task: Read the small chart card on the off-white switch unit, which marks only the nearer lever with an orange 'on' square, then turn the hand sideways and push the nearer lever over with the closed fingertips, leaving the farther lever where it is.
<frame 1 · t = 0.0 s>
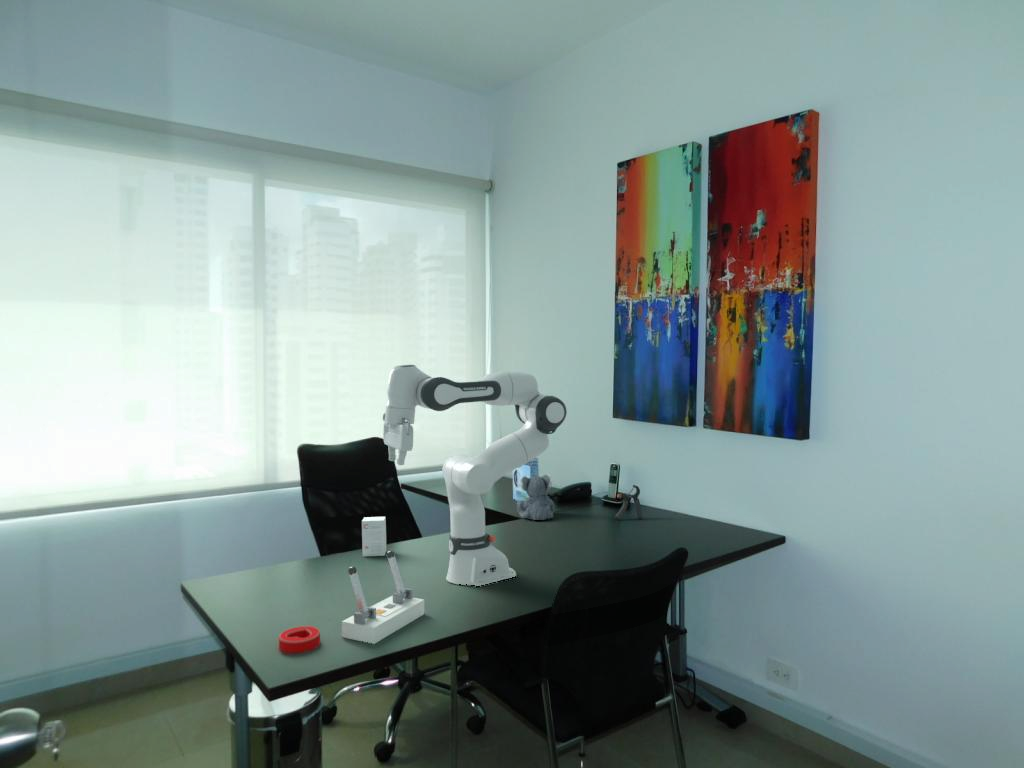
hand: (396, 462, 204), 39 cm above the table, tool pointing down, fingers open, 8 cm apart
small box: (374, 554, 244), on the table
lever 1: (358, 592, 170), point 11 cm above the table, hinge at -20.0°
lever 2: (396, 574, 184), point 11 cm above the table, hinge at -20.0°
switch unit: (385, 625, 177), on the table
decorative ornament: (299, 646, 164), on the table
hand grip strengthener: (628, 519, 294), on the table
light blue product box: (525, 502, 334), on the table
koala plush: (537, 518, 300), on the table
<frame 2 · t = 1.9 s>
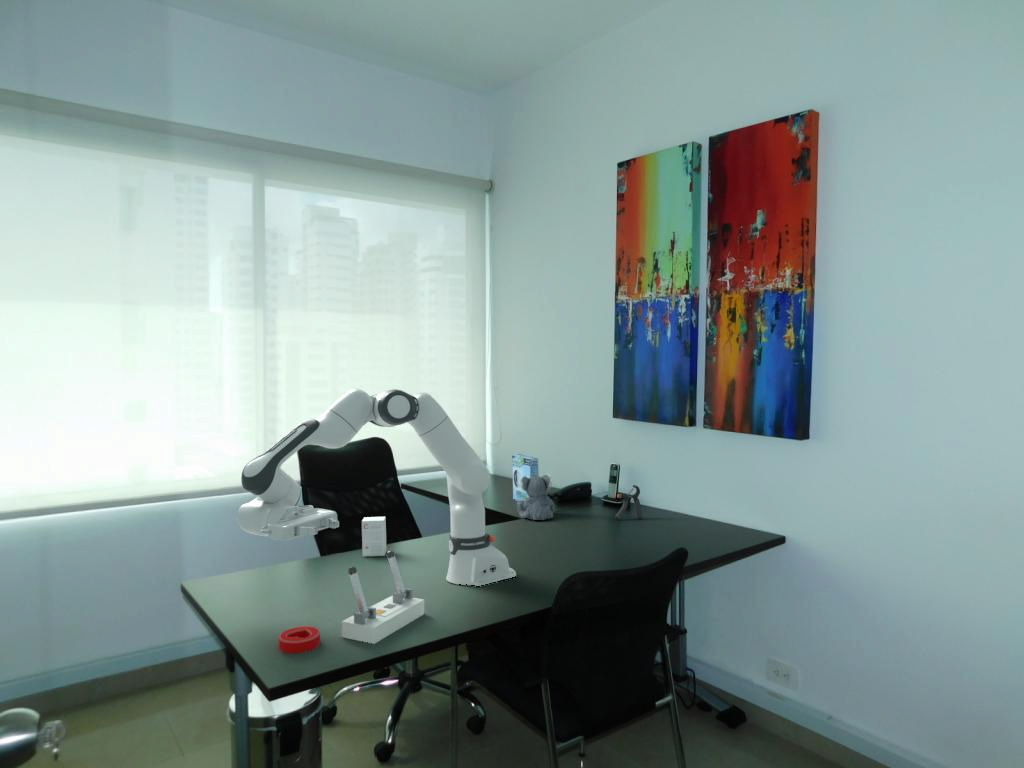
hand: (326, 528, 174), 26 cm above the table, tool horizontal, fingers open, 7 cm apart
nothing on the table moved.
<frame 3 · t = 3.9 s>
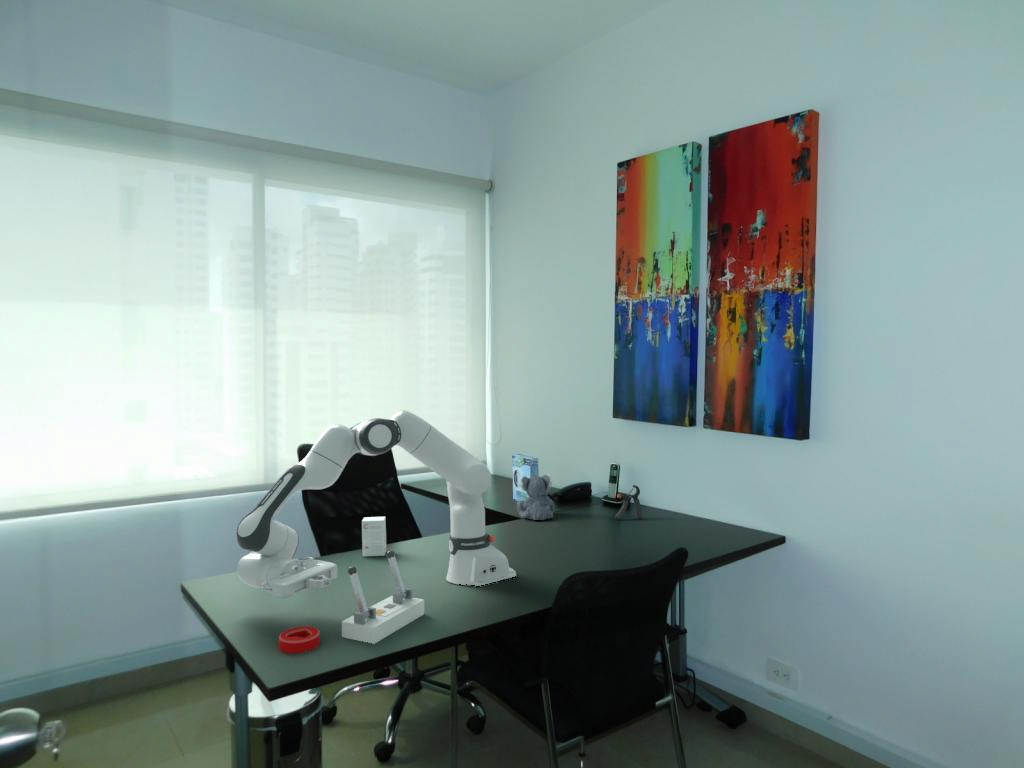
hand: (327, 583, 175), 12 cm above the table, tool horizontal, fingers closed
nothing on the table moved.
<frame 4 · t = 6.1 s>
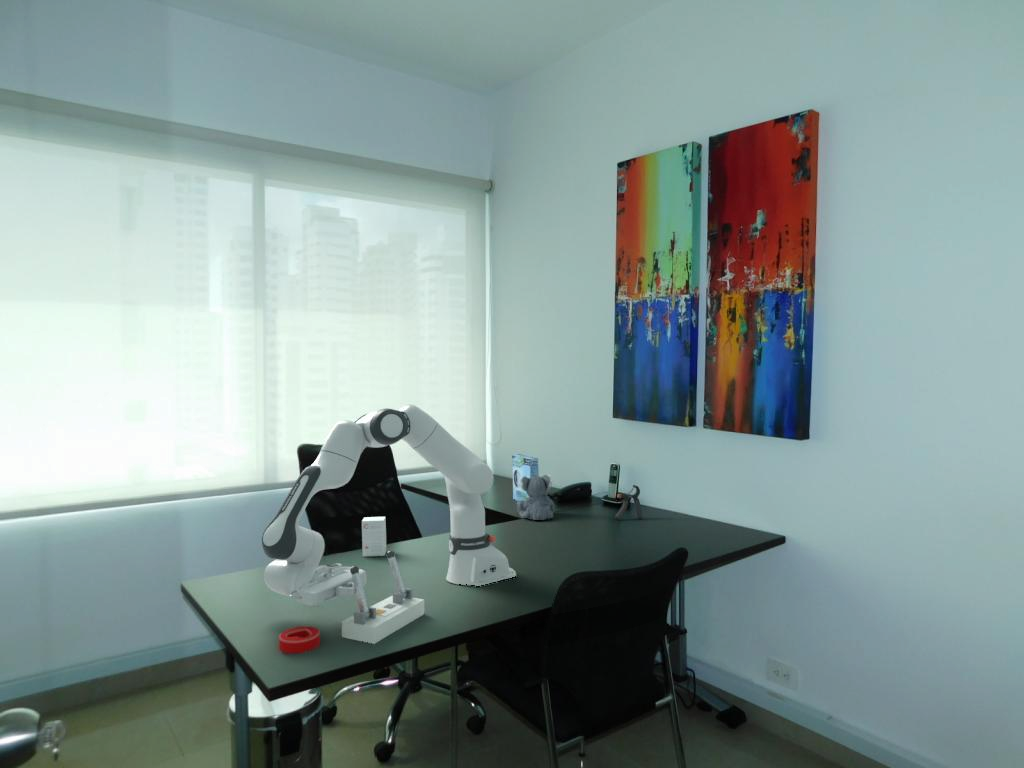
hand: (356, 591, 170), 11 cm above the table, tool horizontal, fingers closed, pressing on lever 1
lever 1: (359, 592, 170), point 11 cm above the table, hinge at -16.1°, touching gripper
everything else where it was.
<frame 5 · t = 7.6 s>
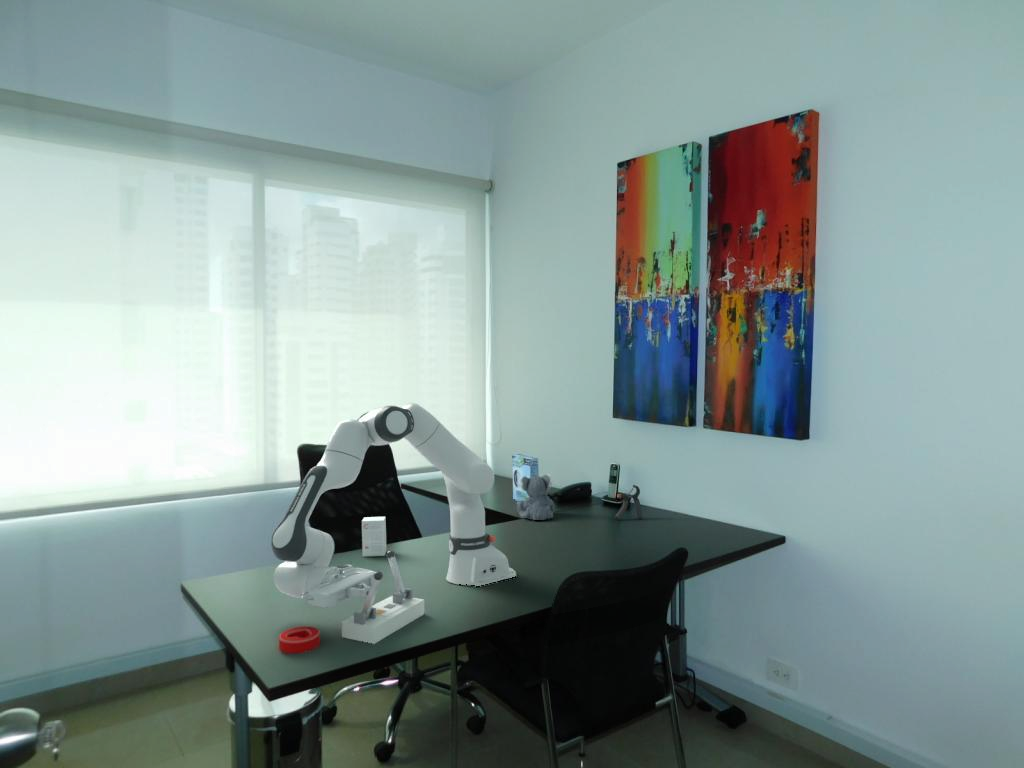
hand: (369, 592, 169), 11 cm above the table, tool horizontal, fingers closed, pressing on lever 1
lever 1: (371, 595, 168), point 11 cm above the table, hinge at 22.6°, touching gripper
everything else where it was.
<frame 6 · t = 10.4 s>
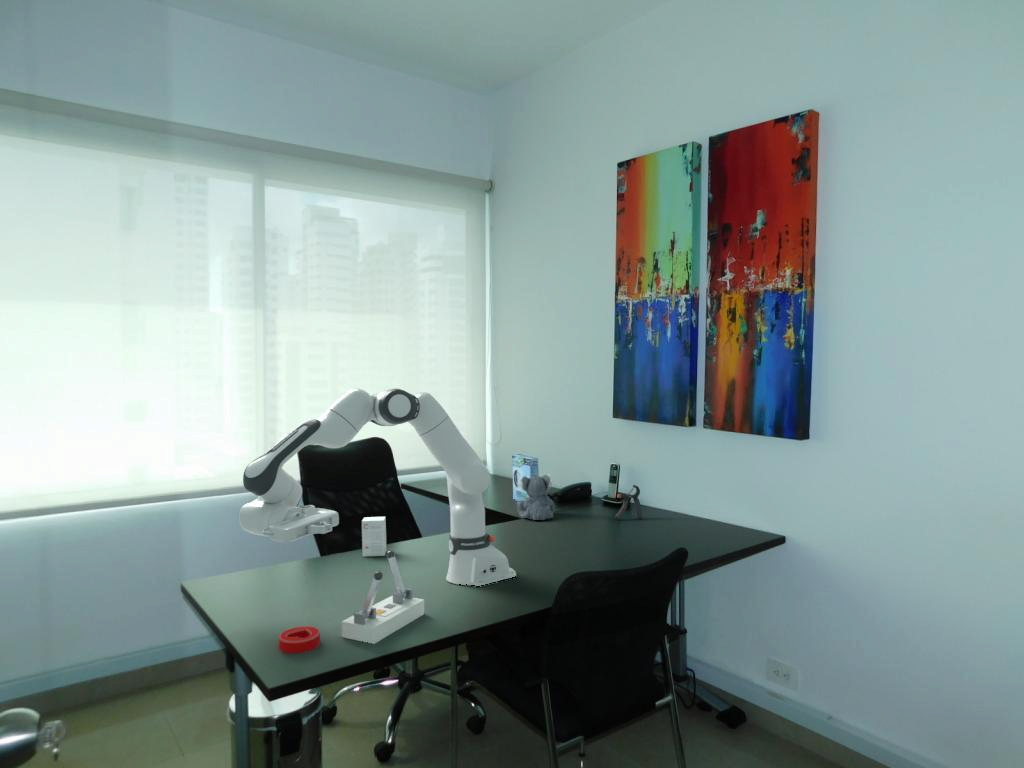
hand: (328, 529, 174), 26 cm above the table, tool horizontal, fingers closed
lever 1: (371, 595, 168), point 11 cm above the table, hinge at 22.6°
everything else where it was.
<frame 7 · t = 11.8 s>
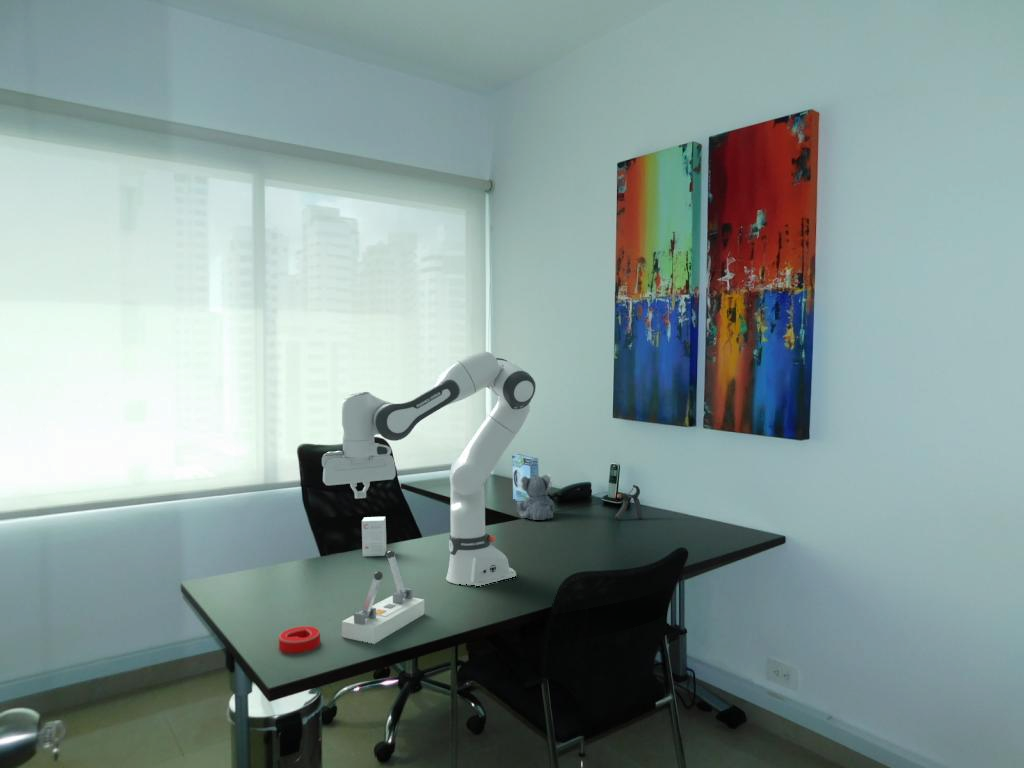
hand: (360, 497, 191), 31 cm above the table, tool pointing down, fingers closed
nothing on the table moved.
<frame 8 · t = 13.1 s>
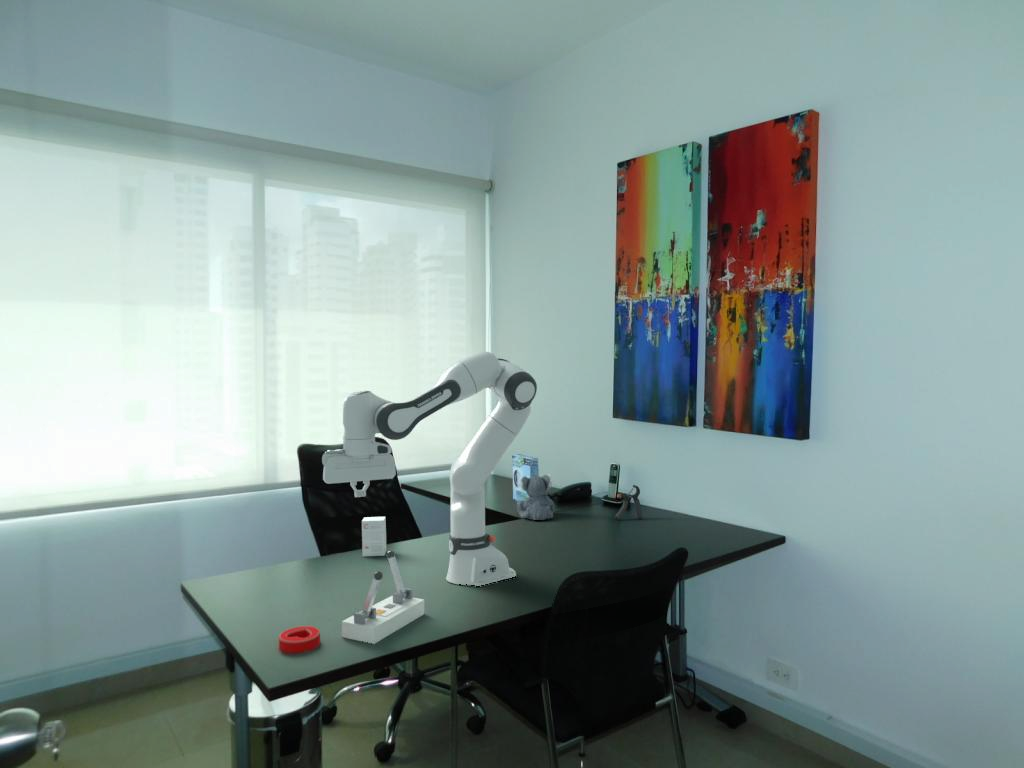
hand: (360, 496, 191), 31 cm above the table, tool pointing down, fingers closed
nothing on the table moved.
at the end: lever 1 at +23° (first picture: -20°); lever 2 at -20° (first picture: -20°) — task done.
